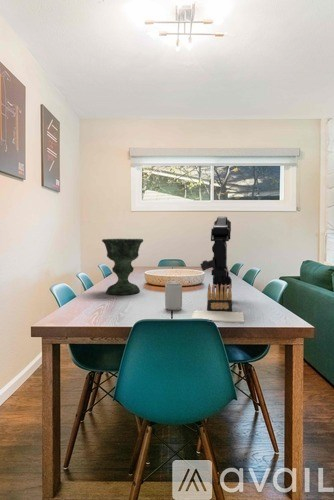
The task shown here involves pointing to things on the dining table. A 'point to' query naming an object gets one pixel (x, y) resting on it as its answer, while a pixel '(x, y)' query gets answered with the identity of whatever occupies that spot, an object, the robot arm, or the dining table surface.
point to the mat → (220, 316)
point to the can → (173, 295)
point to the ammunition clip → (217, 303)
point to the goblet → (122, 263)
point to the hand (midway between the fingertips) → (219, 289)
